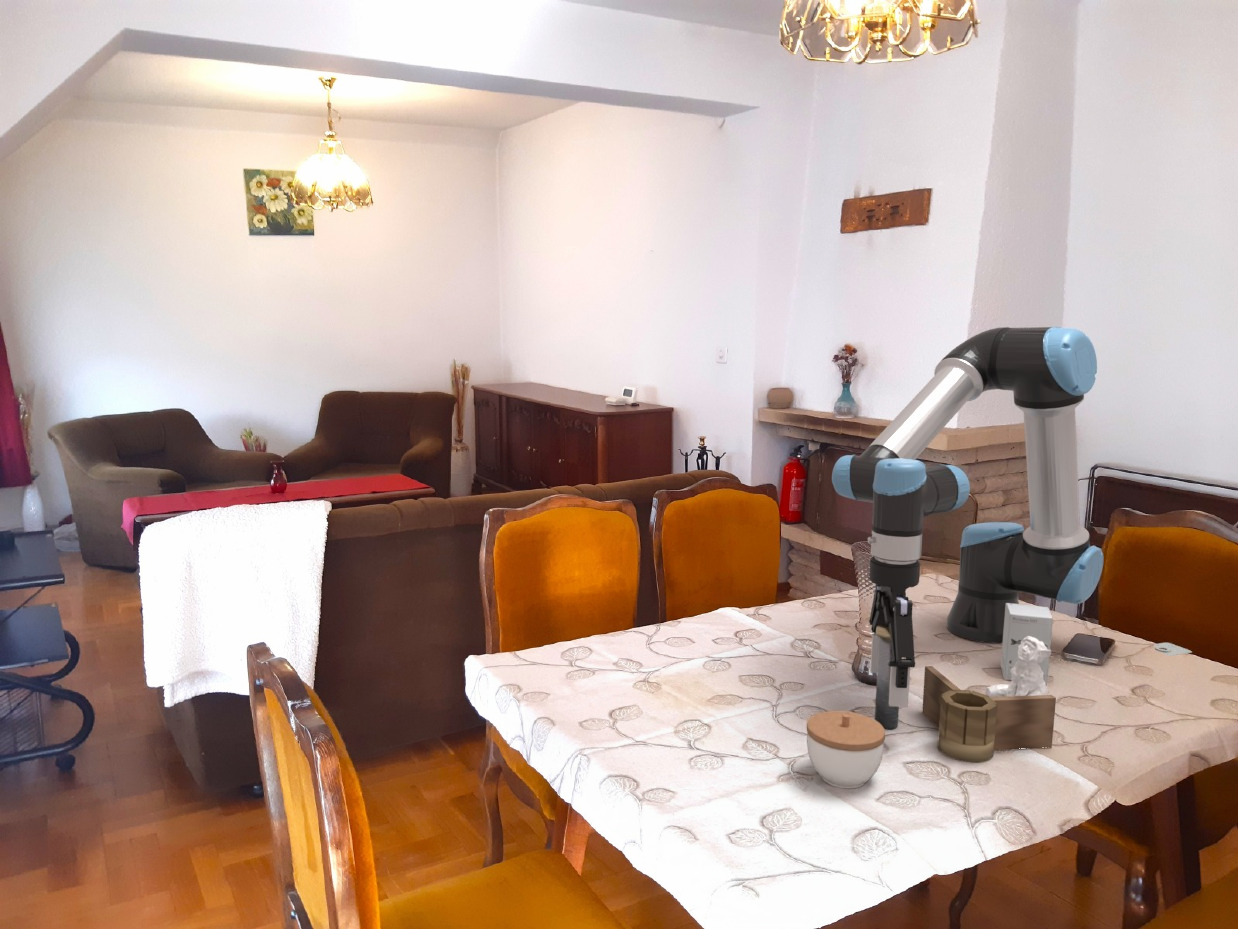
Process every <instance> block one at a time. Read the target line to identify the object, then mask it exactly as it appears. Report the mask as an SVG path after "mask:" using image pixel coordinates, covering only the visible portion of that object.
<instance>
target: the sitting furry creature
mask: <svg viewBox="0 0 1238 929" xmlns="http://www.w3.org/2000/svg"><path fill="white" fill-rule="evenodd" d="M1018 648H1019V649H1018V653H1017V654H1018V659H1019V660H1018V661H1017V662H1016V664H1015V666H1014V667H1013V668H1012V669H1011V670H1010V672H1011V675H1012V680H1010V681H1011V683H1008V684H1007V683H1006V684H1005V683H1004V684H1001V683H999V684H992V685H989V686H987V687H985V695H988V696H989V697H1009V696H1034V695H1049V693H1050V691H1049V690H1048V689H1049V688H1048V687H1047V684H1045V681H1044V680H1043V675H1044V673H1043V672H1042V670H1041V667H1040V666H1039V665H1038V663H1042V661H1044V659H1045V658H1047V657H1049V658H1050V656H1052V650H1051V649H1050V650H1047V647H1046V646H1045V644H1044V643H1043V642H1042V641H1039V640H1038V639H1036V638H1034V637H1031V636H1027V637H1025V638H1024V639H1023V640H1022V641H1021V644H1020V645H1019V646H1018Z"/></svg>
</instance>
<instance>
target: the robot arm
mask: <svg viewBox="0 0 1238 929" xmlns="http://www.w3.org/2000/svg"><path fill="white" fill-rule="evenodd" d="M1095 349H1096V348H1095V347H1094V345H1093V342H1092V341H1091V339H1090V337H1089V336H1088V335H1086V334H1085V332H1083V331H1082V330H1080V329H1077V328H1065V327H1060V326H1051V327H1050V326H1049V327H1048V326H1047V327H1044V326H1041V327H1009V326H1008V327H1007V326H1006V327H1002V326H1001V327H996V328H992V329H991V328H990V329H987V330H984V331H982V332H980V333H978V334H976V335H973V336H971V337H970V338H968V339H965V341H963V342H961V343H960V344H959V345H957V346H956V347H954V348H953V349H952V350H951V351H949V352H948V354H946V355H945V356H944V357H943V358H942V359H941V360H940V361H939V362H938V363H937V365H936V366H935V367H934V368H935V369H934V373H933V374H934V375H933V377H932V378H931V379H930V380H929V381H928V382H927V384H925V386H923V388H922V389H921V390H919V392H918V393H917V394H915V396H914V397H913V398H912V399H911V400H910V401H909V402H908V404H907V405H906V406H905V407H903V409H902V410H901V411H900V412H899V413H898V414H897V416H895V418H894V419H893V420H891V422H890V423H889V424H888V425H887V426H886V427H885V428H884V430H883V431H881V433H880V434H879V435H878V436H877V437H876V438H875V439H874V440H873V441H872V443H870V445H869V446H868V447H866V449H865V450H864V451H863V452H862V453H861V454H860V455H856V454H851V455H849V454H847V455H843V456H841V457H840V458H838V460H837V461H835V464H834V466H833V469H832V473H831V483H832V485H833V489H834V490H835V492H836V493H837V494H838V495H839V496H842V497H844V498H847V499H851V500H855V501H857V502H859V501H860V502H867V503H871V504H872V524H871V536H868V537H867V542H868V543H869V544H870V554H871V556H872V557H871V558H870V559H869V571H868V573H869V574H868V575H869V576H868V577H869V580H870V582H871V583H873V584H874V585H875V586H874V593H873V594H874V595H873V600H872V605H871V609H870V610H871V611H870V616H869V620H868V624H869V625H870V626H871V627H870V628H871V629H870V630H871V632H872V633H871V646H870V647H871V648H870V667H869V668H870V669H869V671H870V673H871V674H872V673H874V674H877V666H878V647H879V637H878V636H877V635H876V627H877V626H878V625H883V624H888V625H889V630H890V639H891V648H892V657H893V661H890V662H889V663H888V665H889V667H891V670H890V688H889V706H898V707H899V708H901V707H902V708H904V707H905V708H906V707H907V708H908V707H909V692H910V678H911V677H910V673H911V668H915V667H916V660H915V645H914V644H915V642H914V626H913V605H914V604H913V601H912V600H909V597H908V596H907V592H906V591H907V590H908V589H909V588H915V587H917V586H918V585H919V583H920V575H921V574H920V572H921V563H920V562H919V559H921V557H922V547H923V545H922V544H923V523H924V522H923V521H924V517H927V516H933V515H936V514H937V515H938V514H942V513H943V514H946V513H947V512H948V513H950V512H952V510H956V509H958V508H961V507H962V506H963V505H964V504H965V503H966V502H967V501H968V498H969V497H970V491H971V485H970V481H969V478H968V476H967V475H966V473H965V472H964V471H963V470H962V469H961V468H959V467H958V466H956V465H951V464H946V465H945V464H937V465H935V466H933V465H925V464H924V462H922V461H920V460H918V457H919V456H920V455H921V453H923V451H924V450H925V449H926V448H927V447H928V446H929V445H930V443H931V442H933V440H934V439H935V438H937V436H938V435H939V433H940V432H942V430H943V429H944V428H945V427H946V425H947V424H949V422H950V421H951V420H952V419H953V418H954V417H955V415H956V414H957V413H958V412H959V411H960V410H961V409H962V408H963V406H965V405H966V403H968V402H972V401H974V400H976V399H978V398H979V397H980V396H981V394H982V393H984V392H986V391H992V390H1001V391H1012V392H1013V402H1014V406H1016V407H1017V408H1018V409H1019V410H1021V411H1022V412H1023V423H1024V427H1023V428H1024V439H1025V440H1024V442H1025V456H1026V457H1025V458H1026V473H1027V474H1026V475H1027V488H1028V489H1027V491H1028V506H1029V507H1028V508H1029V522H1030V526H1028V527H1027V528H1025V527H1024V525H1023V524H1019V523H1017V522H1016V523H1015V522H1004V521H1003V522H1002V521H1000V522H999V521H996V522H995V521H993V522H992V521H991V522H990V521H989V522H978V523H973V524H970V525H967V526H966V527H965V528H964V529H963V530H962V534H961V541H960V545H959V548H960V553H959V555H960V556H959V571H958V572H959V573H958V588H957V589H958V590H957V594H956V596H955V599H954V600H953V604H952V606H951V607H950V611H949V613H948V615H947V620H946V628H947V630H948V631H949V632H950V633H952V634H953V635H955V636H957V637H960V638H963V639H966V640H971V641H973V642H974V641H975V642H979V643H989V644H1002V643H1003V630H1004V618H1005V605H1006V603H1013V604H1020V602H1019V592H1020V593H1025V594H1028V595H1033V596H1038V597H1042V598H1046V599H1051V600H1054V601H1056V602H1059V603H1061V602H1063V603H1069V604H1074V605H1079V604H1082V603H1084V602H1085V601H1087V600H1088V599H1089V598H1090V597H1091V595H1092V594H1093V593H1094V591H1095V590H1096V587H1097V586H1098V583H1099V582H1100V579H1101V575H1102V572H1103V566H1104V553H1103V551H1102V549H1101V548H1100V547H1097V546H1096V545H1091V544H1090V533H1089V531H1088V530H1087V529H1086V528H1085V527H1084V526H1082V525H1081V524H1080V523H1081V522H1080V498H1079V495H1080V494H1079V492H1080V491H1079V474H1078V473H1079V471H1078V468H1079V467H1078V452H1077V451H1078V448H1077V447H1078V446H1077V425H1076V408H1077V407H1078V406H1079V405H1080V404H1081V403H1082V402H1084V400H1085V395H1086V394H1087V393H1089V392H1090V391H1091V390H1092V389H1093V387H1094V385H1095V383H1096V374H1097V372H1098V371H1097V370H1098V361H1097V353H1096V350H1095ZM1024 528H1025V529H1024Z"/></svg>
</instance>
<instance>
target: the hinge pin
mask: <svg viewBox="0 0 1238 929" xmlns="http://www.w3.org/2000/svg"><path fill="white" fill-rule="evenodd" d="M876 635H877V636H878V637H879V647H878V666H877V673H876V687H875V688H876V689H875V705H874V706H875V707H874V720H876V721H877V722H879V723H880V724H881V725H882V726H883V728H884V729H885V730H896V729H897V728H898V727H899V712H900V711H899V710H900V707H898V706H889V688H890V670H891V667H889V665H888V663H889V662H890V661H893V657H892V648H891V639H890V630H889V625H888V624H883V625H878V626H877V627H876Z"/></svg>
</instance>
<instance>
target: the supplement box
mask: <svg viewBox="0 0 1238 929" xmlns="http://www.w3.org/2000/svg"><path fill="white" fill-rule="evenodd" d="M1053 621H1054V618H1053V616H1052V613H1051V610H1050V608H1049V607H1048V606H1040V605H1033V604H1032V605H1030V604H1020V603H1019V604H1013V603H1006V605H1005V618H1004V630H1003V643H1001V644H1002V645H1001V657H1000V658H1001V659H1000V668H1001V672H1002V675H1003V679H1004V680H1007V681H1009V680H1010V681H1011V680H1012V675H1011V672H1010V670H1011V669H1012V668H1013V667H1014V666H1015V664H1016V662H1017V661H1018V660H1019V659H1018V654H1017V653H1018V649H1019V648H1018V646H1019V645H1020V644H1021V641H1022V640H1023V639H1024V638H1025V637H1027V636H1031V637H1034V638H1036V639H1038V640H1039V641H1042V642H1043V643H1044V644H1045V646H1046V647H1047V650H1051V642H1052V634H1053V633H1052V632H1053V624H1054V622H1053ZM1038 665H1039V666H1040V667H1041V670H1042V672H1043V673H1044V675H1043V680H1044V681H1045V684H1046V685H1047V684H1048V680H1049V667H1050V656H1049V657H1047V658H1045V659H1044V661H1042V663H1038Z"/></svg>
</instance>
